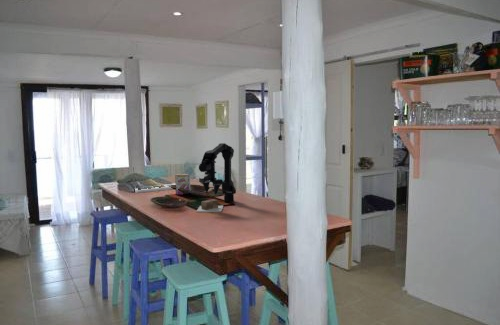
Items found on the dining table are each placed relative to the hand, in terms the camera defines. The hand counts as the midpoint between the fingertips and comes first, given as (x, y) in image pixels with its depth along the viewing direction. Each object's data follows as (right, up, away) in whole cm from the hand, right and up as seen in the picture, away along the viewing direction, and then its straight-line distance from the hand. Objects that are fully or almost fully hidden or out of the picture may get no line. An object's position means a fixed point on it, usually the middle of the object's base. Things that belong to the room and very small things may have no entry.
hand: (211, 193), depth 259 cm
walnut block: (+3, -7, +4) cm, 8 cm away
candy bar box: (-29, -5, +58) cm, 65 cm away
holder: (-54, -3, +86) cm, 102 cm away
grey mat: (-1, -11, 0) cm, 11 cm away
